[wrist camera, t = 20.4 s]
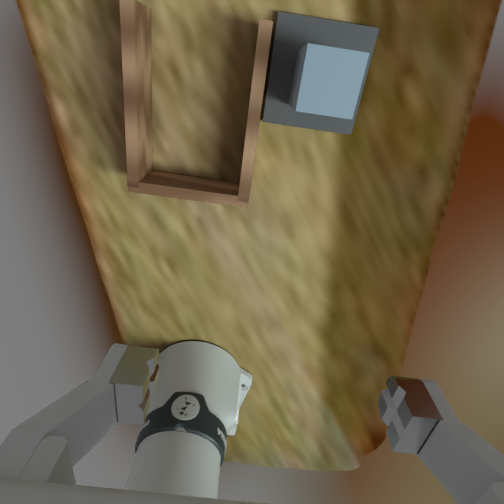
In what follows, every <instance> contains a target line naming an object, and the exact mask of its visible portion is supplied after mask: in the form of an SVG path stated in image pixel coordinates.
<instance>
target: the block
mask: <svg viewBox="0 0 504 504" xmlns="http://www.w3.org/2000/svg"><path fill="white" fill-rule="evenodd" d="M368 57H369V53H367V52H361V51H354V50H348V49H342V48H335V47H329V46H323V45H316V44H310V43H308V44H306V45H305V46H304V47H302V48H301V49H300V50H298V53H297V59H296V65H295V70H294V76H293V82H292V88H291V94H290V100H289V106H291V107H292V108H293V109H294V110H295V111H298V112H305V113H312V114H318V115H325V116H332V117H338V118H345V119H353V115H354V111H355V107H356V103H357V99H358V96H359V92H360V88H361V84H362V80H363V76H364V73H365V69H366V65H367V61H368Z"/></svg>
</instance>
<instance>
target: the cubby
mask: <svg viewBox="0 0 504 504" xmlns="http://www.w3.org/2000/svg"><path fill="white" fill-rule="evenodd" d="M119 3H120V25H121V48H122V71H123V93H124V116H125V138H126V161H127V183H128V192H136V193H143V194H150V195H158V196H165V197H172V198H179V199H187V200H194V201H201V202H209V203H216V204H223V205H230V206H238V207H245V208H248V202H249V194H250V187H251V180H252V173H253V165H254V158H255V151H256V143H257V136H258V129H259V122H260V114H261V107H262V100H263V92H264V85H265V78H266V70H267V63H268V56H269V49H270V41H271V34H272V27H273V21H269V20H263V19H259V27H258V36H257V44H256V52H255V60H254V69H253V77H252V85H251V94H250V102H249V110H248V119H247V127H246V135H245V143H244V152H243V160H242V168H241V177H240V183H236V182H229V181H222V180H215V179H208V178H200V177H193V176H186V175H179V174H172V173H165V172H158V171H152V73H151V9H149V8H148V7H146V6H145V5H143V4H141V3H140V2H138V1H137V0H119Z"/></svg>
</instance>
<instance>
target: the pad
mask: <svg viewBox="0 0 504 504" xmlns="http://www.w3.org/2000/svg"><path fill="white" fill-rule="evenodd" d="M378 32H379V28H376V27H370V26H364V25H358V24H352V23H346V22H340V21H334V20H327V19H321V18H315V17H309V16H303V15H297V14H291V13H285V12H278V16H277V23H276V30H275V37H274V44H273V51H272V58H271V65H270V73H269V80H268V87H267V94H266V101H265V108H264V115H263V122H269V123H275V124H282V125H289V126H296V127H302V128H309V129H316V130H323V131H329V132H336V133H343V134H349V135H351V133H352V130H353V126H354V122H355V118H356V114H357V111H358V107H359V103H360V99H361V96H362V92H363V88H364V84H365V81H366V77H367V73H368V69H369V65H370V62H371V58H372V54H373V50H374V47H375V43H376V39H377V35H378ZM308 43H310V44H316V45H323V46H329V47H335V48H342V49H348V50H354V51H361V52H367V53H369V57H368V61H367V65H366V69H365V73H364V76H363V80H362V84H361V88H360V92H359V96H358V99H357V103H356V107H355V111H354V115H353V119H345V118H338V117H332V116H325V115H318V114H312V113H305V112H298V111H295V110H294V109H293V108H292V107H291V106H289V100H290V94H291V88H292V82H293V76H294V70H295V65H296V59H297V53H298V50H300V49H301V48H302V47H304V46H305V45H306V44H308Z"/></svg>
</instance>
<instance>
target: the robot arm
mask: <svg viewBox="0 0 504 504" xmlns="http://www.w3.org/2000/svg"><path fill="white" fill-rule="evenodd" d="M252 379H253V377H252V375H251V374H250V373H248V372H247V371H245V370H244V369H242V368H241V367H240V366H239V365H238V364H237V362H236V361H235V360H234V358H233V357H232V356H231V355H230V354H229V353H227V352H226V351H225V350H223V349H221V348H220V347H217V346H215V345H213V344H209V343H205V342H199V341H186V342H180V343H177V344H174V345H171V346H169V347H168V348H166V349H165V350H163V351H162V352H161V353H160V354H159V349H155V348H148V347H141V346H134V345H125V344H118V343H114V344H113V345H112V346H111V347H110V349H109V351H108V353H107V355H106V356H105V358H104V360H103V362H102V363H101V365H100V367H99V369H98V371H97V372H96V374H95V376H94V378H93V379H92V381H86V382H85V383H83V384H81V385H80V386H78V387H77V388H75V389H74V390H72V391H71V392H69V393H68V394H66V395H65V396H63V397H61V398H60V399H58V400H57V401H55V402H54V403H52V404H51V405H49V406H48V407H46V408H45V409H43V410H41V411H40V412H38V413H37V414H35V415H34V416H32V417H31V418H29V419H28V420H26V421H24V422H23V423H21V424H20V425H18V426H17V427H16V428H14V429H12V430H11V431H10V433H9V434H8V436H7V437H6V438H5V440H4V441H3V443H2V444H1V445H0V504H265V503H254V502H245V501H235V500H224V499H218V483H219V471H220V467H221V465H222V463H223V460H224V455H225V451H226V437H227V435H232V436H233V435H235V432H236V428H237V424H238V419H239V417H238V414H239V408H240V406H241V404H242V402H243V400H244V398H245V396H246V394H247V392H248V390H249V388H250V386H251V384H252ZM386 385H387V389H385V390H383V391H382V392H381V394H380V396H379V402H378V408H379V413H380V416H381V419H382V421H383V422H384V423H385V424H386V425H387V426H388V428H387V431H386V433H387V436H388V439H389V442H390V444H391V447H392V450H393V451H396V452H404V453H411V454H418V457H419V458H420V459H421V460H422V462H423V463H424V464H425V465H426V466H427V467H428V469H429V470H430V471H431V472H432V473H433V475H434V476H435V477H436V478H437V479H438V481H439V482H440V483H441V484H442V485H443V486H444V488H445V489H446V490H447V491H448V492H449V494H450V495H451V496H452V497H453V498H454V500H455V501H456V502H457V503H458V504H504V455H502V454H501V453H500V452H499V451H498V450H496V449H495V448H494V447H493V446H492V445H490V444H489V443H488V442H487V441H485V440H484V439H483V438H482V437H481V436H479V435H478V434H477V433H476V432H474V431H473V430H472V429H471V428H470V427H468V426H467V425H466V424H465V423H460V422H459V420H458V419H457V417H456V415H455V414H454V412H453V410H452V408H451V407H450V405H449V403H448V402H447V400H446V398H445V396H444V395H443V393H442V391H441V390H440V388H439V386H438V385H437V383H436V382H435V381H433V380H425V379H417V378H407V377H398V376H390V377H389V378H388V379H387V381H386ZM117 422H118V423H130V424H142V426H141V428H140V430H139V433H138V436H137V442H136V445H135V453H136V455H135V458H134V461H133V464H132V467H131V470H130V473H129V476H128V479H127V482H126V485H125V488H124V490H122V489H112V488H102V487H92V486H82V485H76V481H75V477H74V472H73V466H74V465H75V464H76V463H77V462H78V461H79V460H80V459H81V458H82V457H83V456H84V455H85V454H86V453H87V452H89V450H91V449H92V447H94V446H95V445H96V444H97V443H98V442H99V441H100V440H101V439H102V438H103V437H104V436H105V435H106V434H107V433H108V432H109V431H111V429H113V428H114V426H116V425H117Z"/></svg>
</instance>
